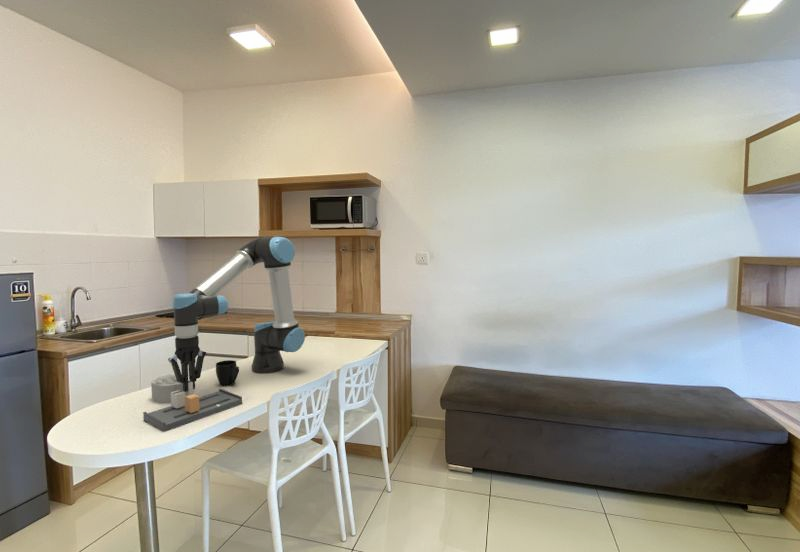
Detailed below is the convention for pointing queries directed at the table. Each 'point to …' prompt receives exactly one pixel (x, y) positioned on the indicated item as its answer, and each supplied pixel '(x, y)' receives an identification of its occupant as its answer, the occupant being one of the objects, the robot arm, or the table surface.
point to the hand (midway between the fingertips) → (189, 398)
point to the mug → (227, 372)
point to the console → (179, 416)
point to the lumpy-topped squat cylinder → (165, 388)
